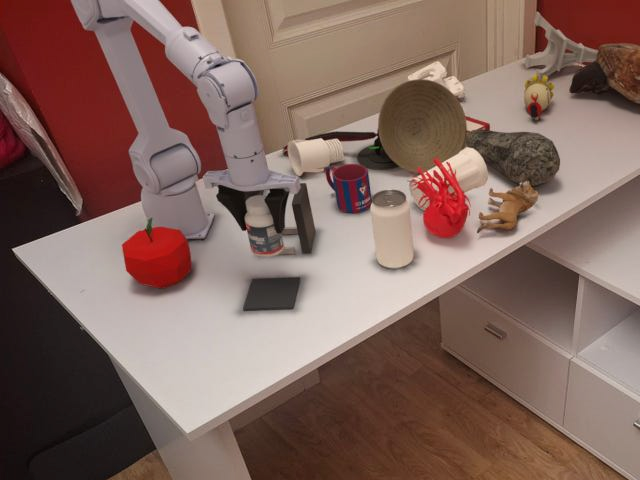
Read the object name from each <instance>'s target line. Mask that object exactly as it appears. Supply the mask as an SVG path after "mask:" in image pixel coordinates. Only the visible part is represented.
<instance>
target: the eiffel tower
mask: <svg viewBox="0 0 640 480" xmlns="http://www.w3.org/2000/svg"><path fill="white" fill-rule="evenodd" d="M533 23H534V24H535V26H536V27H541V28H542V29H544V30H545V33H544V37H545V39H547V45H546V47H545V49H544V50H543V51H542V52H541V53H539V54H535V55H529V54H526V56H525V60H524V66H525V68H526V69H529V68H531V67H534V66H545V67H544V68H541V69H539V68H536V72H535V75H538V81H542V78H543V75H545V76H547V77H549V76H550V75H552V74H553V73H555V72H556V71H557V72H561V69H562V68H565V67H568V66H571V65H574V64H579V65H582V64H583V63H592V62H594V61H595V60H596V58H597V53H598V50H599V49H594V48H591V47H588V46H585V45H583V43H582V42H579V43H577V42H575V41H573V40H571V39H570V38H568V37H566V36H565V34H564V33H563V32H562V31H561V30H560V29H556V28H554V27H553V26H552V25H551V23H549V22H548V21H547V20H546V19H545V18H544V17H543V16H542V14H541V13H540V12H539V11H536V12H535V17H534V20H533ZM566 50H568V51H571V52H566Z"/></svg>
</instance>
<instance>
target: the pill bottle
mask: <svg viewBox="0 0 640 480" xmlns="http://www.w3.org/2000/svg"><path fill="white" fill-rule="evenodd" d="M266 196H267V195H265V194H262V195H256V196H252V197H250V198H248V199H247V200H246V208H247V213H246V215H245V224H246V228H247V230H246V233H247V238H248V242H249V246H250V251H251V253H252V255H255V256H256V257H261V258H272V257H275V256H278V255H280V254H279V253H280V252H282V250H283V248H284V247H285V244H284V237H283V234H282V233H277V232H276V230H275V227H274V223H273V218H272V215H271V213H270V210H269V208H268V206H267V205H266V203H265V201H264V199H265V198H266Z"/></svg>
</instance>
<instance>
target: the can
mask: <svg viewBox="0 0 640 480" xmlns="http://www.w3.org/2000/svg"><path fill="white" fill-rule="evenodd" d="M371 198H372V204H371V206H370V218H371V226H372V232H373V233H372V234H373V241H374V247H375V248H374V249H375V256H376V261H377V262H378V263H379V264H380V265H381V266H382V267H384V268H387V269H393V270H394V269H401V268H404V267H406V266H408V265H409V264H411V263H412V262H413V260H414V257H415V252H414V242H413V241H414V240H413V228H412V218H411V217H412V216H411V206H410V203H409V201H408V199H407V195H406V194H405V192H403V191H402V190H398V189H393V188H392V189H391V188H390V189H383V190H380V191H378V192H376V193H374V194H373V195H372V196H371Z"/></svg>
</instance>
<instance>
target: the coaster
mask: <svg viewBox="0 0 640 480" xmlns="http://www.w3.org/2000/svg"><path fill="white" fill-rule="evenodd" d="M300 283H301V277H300V276H291V277H290V276H288V277H287V276H286V277H256V278H255V277H253V278H252V279H251V281H250V285H249V288H248V291H247V294H246V298H245V300H244V303H243V307H242V311H244V312H246V311H247V312H249V311H269V310H270V311H273V310H275V311H277V310H279V311H280V310H294V308H295V305H296V301H297V296H298V292H299V287H300Z"/></svg>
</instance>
